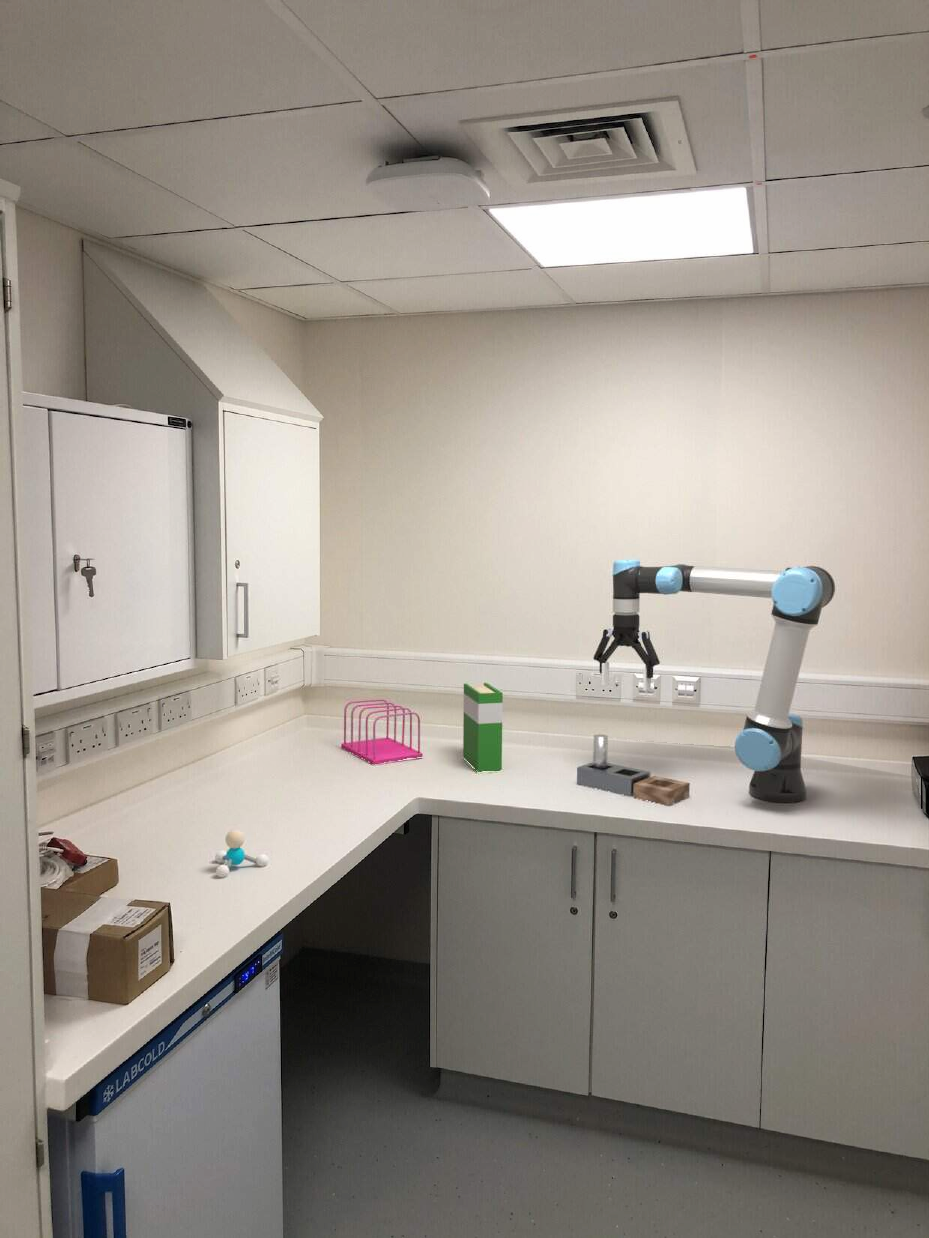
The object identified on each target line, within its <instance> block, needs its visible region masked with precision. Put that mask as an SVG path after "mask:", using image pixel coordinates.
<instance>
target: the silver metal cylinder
mask: <svg viewBox="0 0 929 1238" xmlns="http://www.w3.org/2000/svg"><path fill="white" fill-rule="evenodd" d="M608 743H609V736H608V735H607V734H594V735H593V753H592V754H593V756H592V757H593V758H592V759H593V760H592V762H593V768H594V769H599V770H605V769H607V763H608V753H609V751H608V745H609V744H608Z"/></svg>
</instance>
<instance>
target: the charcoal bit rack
mask: <svg viewBox="0 0 929 1238" xmlns="http://www.w3.org/2000/svg"><path fill="white" fill-rule="evenodd" d="M576 773H577V774H576V785H578V786H582V785H584V786H583V787H586V786H587V787H586V788H590V787H591V789H595V788H597V789H596V790H599V789H601V790H600V791H603V790H604V792H608V791H610V792H609V793H612V792H613V793H614V794H616V795H617V794H618V795H621V794H624V795H623V796H625V795H627V796H626V797H629V798H630V797H631V796H632V797H633V786H634V783H637V782H639V781H642V780H644V779H647V778H650V777H651V771H647V770H643V769H640V768H639V769H638V768H633V767H630V766H624V765H619V764H614V763H609V762H607V769H605V770H599V769H594V768H593V761H592V762H588V763H586V764H583V765H581V766H577V767H576ZM613 793H612V794H613ZM632 797H631V798H632Z"/></svg>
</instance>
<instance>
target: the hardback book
mask: <svg viewBox="0 0 929 1238" xmlns="http://www.w3.org/2000/svg"><path fill="white" fill-rule="evenodd" d="M503 695H504V694H503V691H502V692H501V690H499V689H498V688H495V687H494V686H492V685H491V684H489V682H483V684H482V685H469V684H468V683H463V722H462V723H463V725H462V726H463V729H462V730H463V732H462V733H463V736H462V739H463V741H462V742H463V743H462V744H463V745H462V749H463V750H462V758H463V757H464V758H465V759H466V760H467V761H468V762H469V763H470V764H471V765H472V766H473V767H474V768H475V769H476V770H477V771H478V772H482V771H500V770H502V769H503V765H502V764H503V763H502V762H503V702H504V701H503V699H504V698H503Z"/></svg>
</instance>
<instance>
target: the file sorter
mask: <svg viewBox="0 0 929 1238" xmlns="http://www.w3.org/2000/svg"><path fill="white" fill-rule="evenodd" d="M371 702H374V703H371ZM358 703H364V704H358ZM351 704H357V705H355V706H353V707H352V709H351V714H350V742H347V708H348V707H349V705H351ZM358 707H363V708H362V709H361V710H360V712H359V714H358V715H359V716H358V740H357V741H356V740H355V741H354V713H355V712H354V711H355V710H356V709H357V708H358ZM382 708H384V709H382ZM343 709H344V710H343V711H344V713H343V714H344V715H343V717H344V719H343V742H342V743H340V747H341V749H342V750H344V749H345V750H344V751H346V752H348V753H349V752H351V753H353V754H354V755H353V754H352V755H353V756H355V755H357V756H359V757H360V758H359V757H358V758H359V759H361V758H363V759H365V760H366V761H369V762H370V763H371V764H370V763H369V764H370V765H372V764H379V765H381V764H380V763H384V762H389V761H398V760H403V759H407V758H417V757H422V756H423V757H424V755H423V752H421V717H420V716H419V714H418V713H416V712H413V711H411V710H410V709H409V708H407V707H403V706H402V705H398V704H396V705H395V704H394V703H393V702H389V701H388V702H387V700H385V699H366V700H355V701H354V700H353V701H349V702H347V703H346V704H345V706H344V708H343ZM368 709H369V710H370V709H378V710H374V711H373V710H372V711H370V712H369V713H368V714H367V715H366V718H365V740H364V739H363V740H361V730H362V729H361V727H362V726H361V725H362V714H363V712H364V711H365V710H368ZM379 709H380V710H379ZM406 710H407V711H408V712H406ZM393 711H394V713H393V714H390V712H393ZM397 711H402V713H397ZM384 712H386V714H385V715H380V716H377V717H376V718H375V720H374V721H373V727H372V730H373V731H372V737H373V738H370V739H368V738H369V736H368V735H369V733H368V731H369V730H368V729H369V727H368V724H369V717H370V716H371V715H373V714H376V713H384ZM407 715H409V745H406V744H405V728H406V727H405V723H406V720H405V719H406V716H407ZM413 715H415V716H416V717H417V749H415V748H413ZM398 716H402V734H401V735H402V736H401V742H400V741H397V717H398ZM390 717H394V720H393V721H394V722H393V724H394V728H393V729H394V731H393V738H390V737H389V731H390V730H389V727H390V726H389V725H390V724H389V723H390ZM383 718H386V737H381V738H380V737H379V738H376V723H377V721H378V720H380V719H383ZM351 753H350V754H351ZM357 756H356V757H357ZM366 761H365V762H366Z"/></svg>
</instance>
